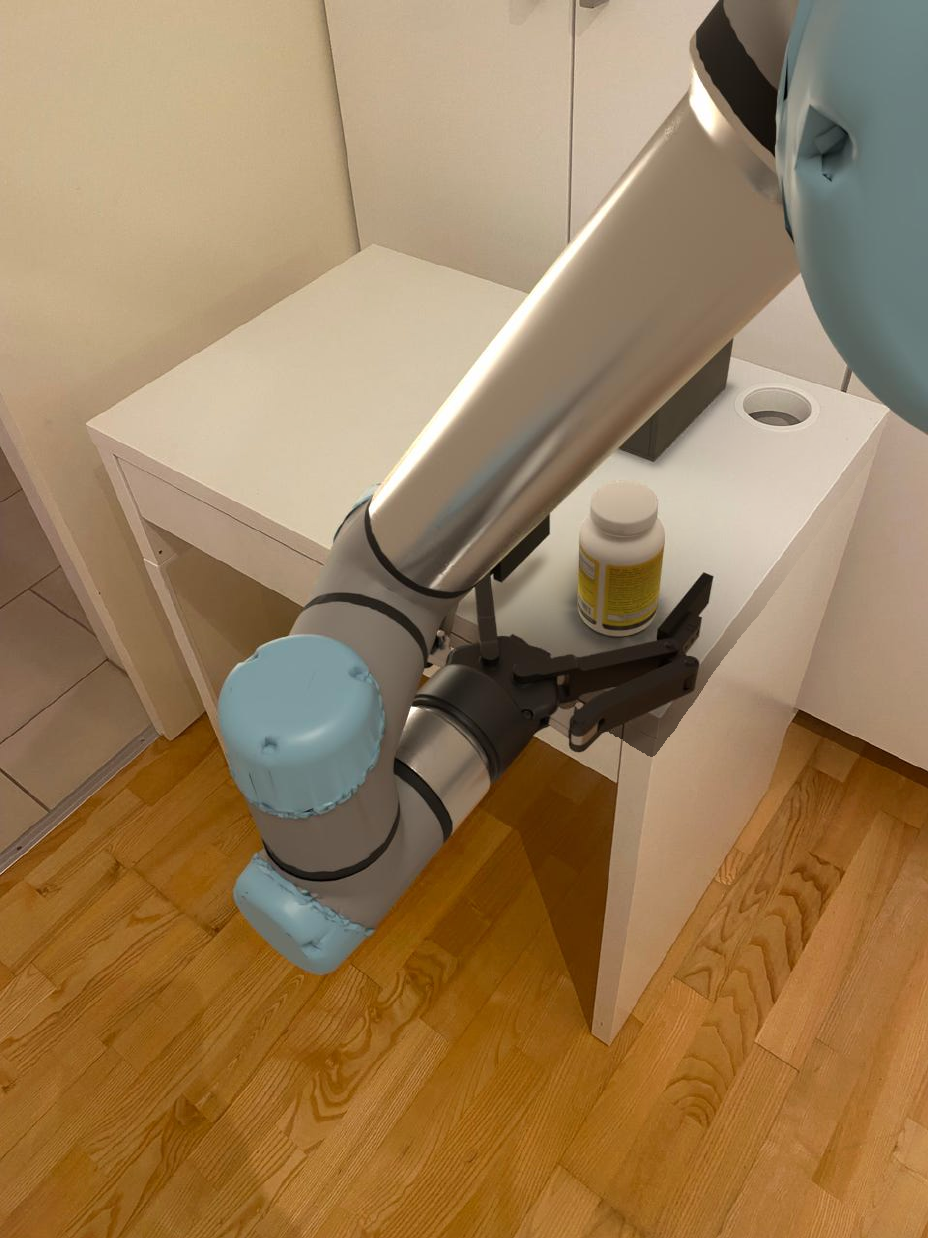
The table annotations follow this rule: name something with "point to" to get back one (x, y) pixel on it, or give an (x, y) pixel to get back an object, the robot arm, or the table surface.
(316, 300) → the table surface
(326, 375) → the table surface
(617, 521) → the pill bottle
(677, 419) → the basket
